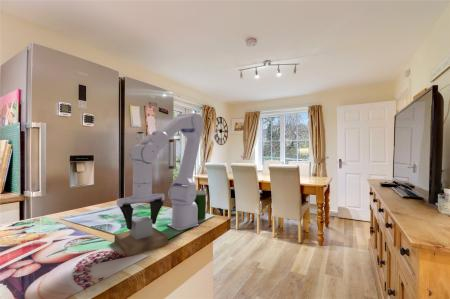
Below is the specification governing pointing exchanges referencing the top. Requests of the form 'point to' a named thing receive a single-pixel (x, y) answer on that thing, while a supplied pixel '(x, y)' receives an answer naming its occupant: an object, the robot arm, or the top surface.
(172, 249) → the top surface
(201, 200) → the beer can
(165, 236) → the walnut slab
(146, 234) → the grey cube
